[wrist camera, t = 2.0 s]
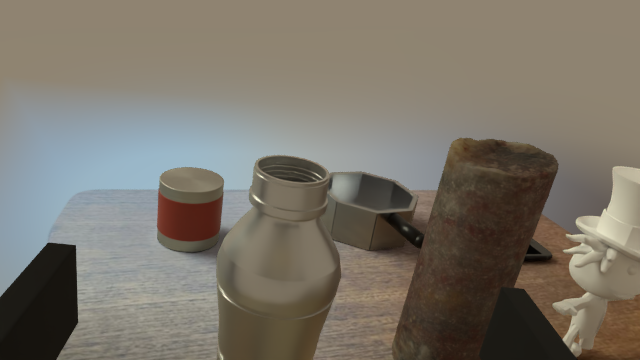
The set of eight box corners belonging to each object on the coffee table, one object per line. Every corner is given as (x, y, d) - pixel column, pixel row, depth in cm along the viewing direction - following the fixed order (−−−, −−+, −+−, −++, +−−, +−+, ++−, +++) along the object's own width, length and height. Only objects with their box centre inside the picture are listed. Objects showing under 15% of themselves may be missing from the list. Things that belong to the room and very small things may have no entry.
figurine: (571, 400, 41) (660, 204, 35) (501, 340, 47) (565, 162, 41) (642, 370, 46) (731, 194, 40) (570, 319, 53) (638, 159, 46)
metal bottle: (238, 403, 36) (272, 136, 28) (319, 454, 33) (381, 173, 26) (171, 469, 30) (192, 162, 23) (261, 537, 28) (318, 212, 20)
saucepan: (301, 207, 67) (306, 173, 66) (376, 202, 73) (383, 170, 71) (370, 283, 53) (380, 242, 51) (457, 270, 58) (468, 232, 57)
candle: (487, 417, 38) (578, 175, 31) (391, 401, 38) (460, 155, 31) (466, 349, 45) (536, 139, 38) (385, 335, 45) (440, 122, 38)
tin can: (143, 240, 54) (145, 180, 51) (179, 217, 60) (182, 162, 57) (198, 259, 52) (203, 198, 49) (230, 233, 58) (235, 177, 56)
